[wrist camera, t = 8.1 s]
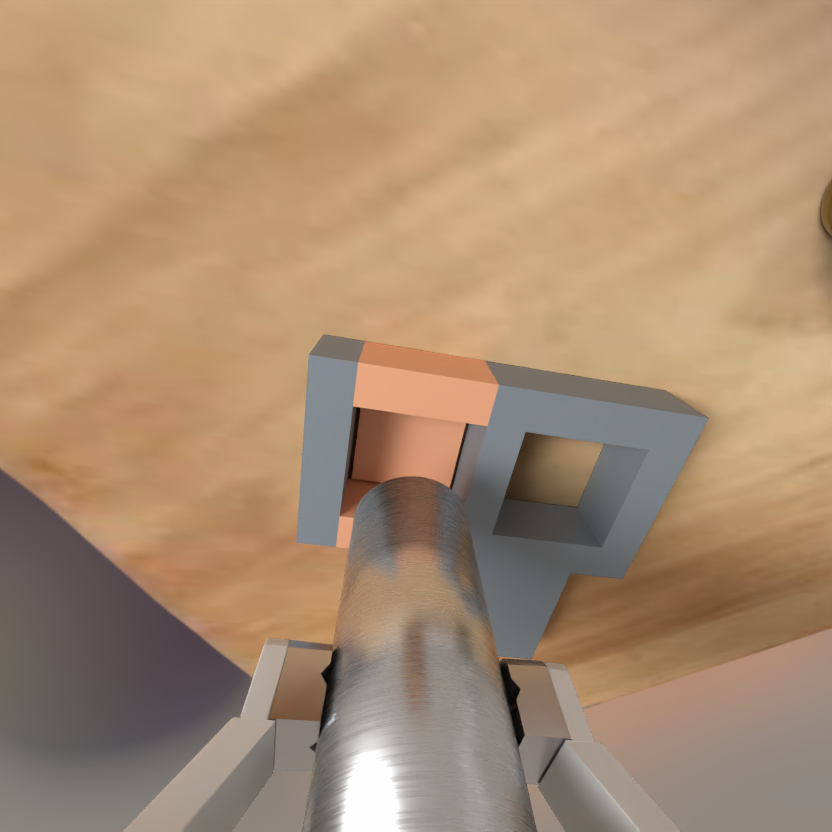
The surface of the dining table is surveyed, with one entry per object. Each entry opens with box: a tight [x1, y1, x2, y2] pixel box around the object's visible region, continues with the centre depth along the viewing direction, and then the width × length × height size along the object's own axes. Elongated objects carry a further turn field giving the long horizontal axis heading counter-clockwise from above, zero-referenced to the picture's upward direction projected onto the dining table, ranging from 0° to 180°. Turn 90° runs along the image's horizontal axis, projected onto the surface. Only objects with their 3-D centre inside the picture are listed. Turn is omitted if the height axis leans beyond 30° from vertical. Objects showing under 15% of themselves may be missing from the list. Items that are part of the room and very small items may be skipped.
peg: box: [302, 476, 537, 832], centre depth 10 cm, size 4×4×10 cm
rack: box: [297, 335, 709, 659], centre depth 20 cm, size 16×17×3 cm
